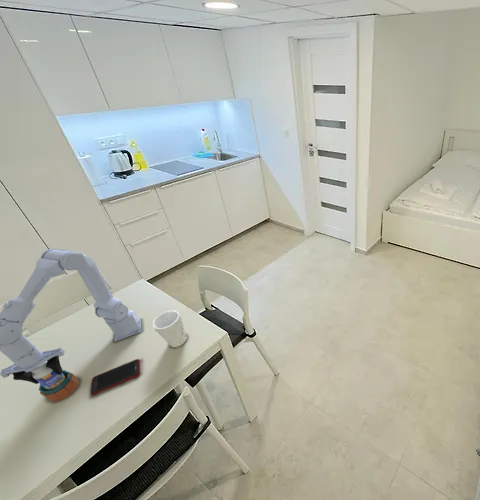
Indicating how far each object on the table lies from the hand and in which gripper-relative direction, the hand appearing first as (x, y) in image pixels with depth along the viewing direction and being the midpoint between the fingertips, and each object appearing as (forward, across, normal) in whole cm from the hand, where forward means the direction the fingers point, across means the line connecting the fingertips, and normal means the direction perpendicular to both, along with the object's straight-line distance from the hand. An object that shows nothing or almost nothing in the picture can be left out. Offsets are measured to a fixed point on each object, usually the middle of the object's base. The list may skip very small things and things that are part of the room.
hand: (49, 376), depth 97 cm
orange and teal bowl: (+8, 0, 0) cm, 8 cm away
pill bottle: (+4, 0, 0) cm, 4 cm away
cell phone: (+8, +16, -5) cm, 19 cm away
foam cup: (+8, +37, 0) cm, 38 cm away
